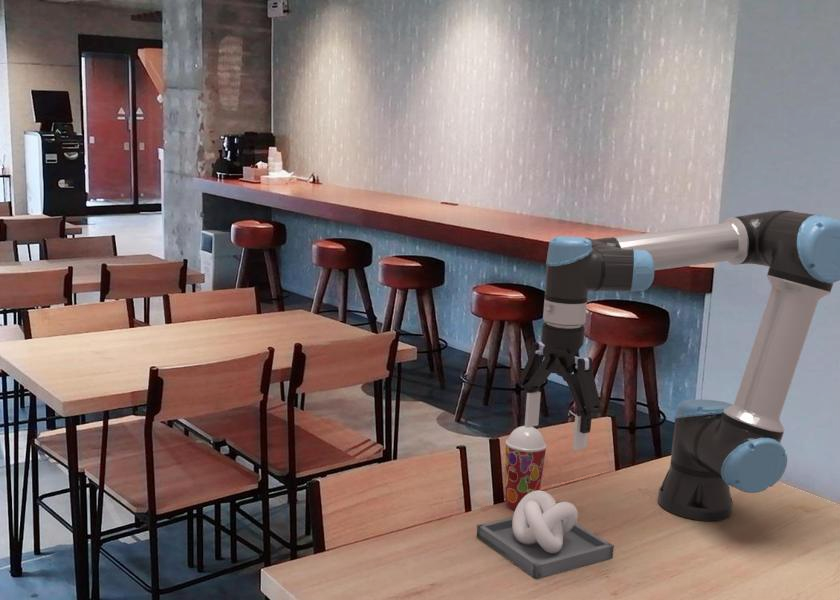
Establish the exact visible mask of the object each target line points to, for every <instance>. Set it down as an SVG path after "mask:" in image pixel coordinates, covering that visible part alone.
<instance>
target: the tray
mask: <svg viewBox="0 0 840 600" xmlns="http://www.w3.org/2000/svg"><path fill="white" fill-rule="evenodd" d="M541 511H542V513H543V510H542V509H541ZM512 520H513V516H512V517H511V516H510V517H507V518H503V519H498V520H495V521H494V520H493V521H489V522H485V523H480V524H477V526H476V538H477V540H479V541H481V543H484V544H486V546H488V547H489V548H491V549H492V548H493V550H494V551H495V550H496V551H495V552H496V553H498V554H499V553H500V555H501V556H502V555H503V556H502V557H504V558H505V559H506V560H508V561H509V560H510V561H509V562H511V563H512V562H513V563H512V564H514V565H515V564H516V565H517V566H516V565H515V566H516V567H518V568H519V567H520V569H521V570H522V571H524V572H525V573H526V574H528V575H529V576H531V577H532V578H534V579H535V580H539V579H542V578H546V577H549V576H553V575H556V574H560V573H564V572H567V571H571V570H574V569H577V568H582V567H586V566H591V565H592V564H597V563H600V562H604V561H608V560H610V559H613V556H614V550H615V549H614V548H615V545H614V544H612V543H611V542H609V541H607V540H605V539H604V538H601V537H600V536H599V535H597V534H595V533H594V532H591V531H590V530H588V529H587V528H585V527H583V526H581V525H579V524H578V523H577V522H576V523H575V525H574V526H573V527H572V529H571V530H570V531H568V532H567V533H566V534H564V535H563V545H562V548H561V549H560V550H559V551H558V552H557V553H553V554H551V553H549V552H546V551H545V550H544V549H543V548H542V547H541V546H540V544H539V543H538V542H536V543H534V544H530V545H526V544H523V543H521V542H519V541H518V540H517V539H516V537H515V535H514V533H513V529H512ZM528 528H529V525H528Z"/></svg>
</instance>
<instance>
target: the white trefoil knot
mask: <svg viewBox="0 0 840 600" xmlns="http://www.w3.org/2000/svg"><path fill="white" fill-rule="evenodd" d="M541 510H543V513H542V511H541ZM578 514H579V513H578V509H577V508H576V506H575V505H574V504H573V503H571V502H570V501H569V502H568V501H561V502H558V503H557V502H556V500H555V499H554V497H553V496H552V495H551V494H550V493H549V492H547V491H544V490H541V489H540V490H537V491H533V492H530V493H528V494H527V495H525V496H524V497H523V498H522V500H521V501H520V502H519V504H518V505H517V507H516V509H515V510H514V513H513V515H512V517H513V520H512V529H513V533H514V535H515V537H516V539H517V540H518V541H519V542H521V543H523V544H526V545H530V544H534V543H536V542H538V543H539V544H540V546H541V547H542V548H543V549H544V550H545V551H546V552H549V553H551V554H553V553H557V552H558V551H559V550H560V549H561V548H562V545H563V535H564V534H566V533H567V532H568V531H570V530H571V529H572V527H573V526H574V525H575V523H576V524H577V521H578V518H579V515H578ZM528 525H529V528H528Z"/></svg>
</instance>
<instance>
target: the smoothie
mask: <svg viewBox="0 0 840 600" xmlns="http://www.w3.org/2000/svg"><path fill="white" fill-rule="evenodd" d="M547 445H548V444H547V443H546V442H545V439H544V436H543V434H542V433H541V432H540V431H539V430H538V429H537V428H536V427H535V426H531V427H526V426H525V425H522V426H521V425H520V426H518V427H516V428H514V429H513V430H512V432H511V433H510V434H509V436H508V438H506V440H505V476H504V477H505V484H504V485H505V487H504V489H505V491H504V493H505V494H504V495H505V496H504V498H505V501H506V502H507V506H508V507H509V508H511V510H514V509H516V507H517V505H518V504H519V502H520V501H521V500H522V498H523V497H524V496H525V495H527V494H528V493H530V492H533V491H537V490H540V491H541V485H542V484H541V483H542V478H543V471H544V465H545V458H546V450H547Z"/></svg>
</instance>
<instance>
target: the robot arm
mask: <svg viewBox="0 0 840 600" xmlns="http://www.w3.org/2000/svg"><path fill="white" fill-rule="evenodd" d="M545 261H546V262H545V265H546V271H545V287H544V289H545V290H544V302H543V314H542V320H543V321H544V322H543V324H542V325H541V326H542V327H541V339H540V340H541V341H536V342H535V341H534V342H533V343H532V346H531V351H530V354H529V357H528V358H527V361H526V364H525V365H524V368H523V370H522V372H521V374H520V377H519V379H518V381H517V382H518V385H519V386H520V387H523V389H524V392H525V395H524V396H525V397H524V407H525V413H524V414H525V416H524V426H526V427H536V426H539V424H540V423H539V421H540V420H539V419H540V408H541V394H542V392H541V391H540V390H541V386H542V384H544V382H545V381H546V380H547V379H548V378H549V376H550V375H551V374H556V375H557V376H558V377H561V378H562V380H563V381H564V382H566V385H567V386H568V389H569V391H570V395H571V396H572V398H573V401H574V404H575V406H576V409H577V411H578V412H577V413H575V415H574V428H573V436H572V437H573V438H572V450H573V451H580V450H585V449H588V440H589V434H590V432H591V428H592V419H593V418H592V417H593V415H598V414H602V410H603V409H602V407H601V402H600V397H599V393H598V389H597V385H596V380H595V376H594V371H593V358H592V357H589V356H588V357H581V356H580V349H581V348H582V347H583V346H584V344H585V343H584V341H585V330H586V328H585V327H584V324H586V321H587V320H586V319H587V317H586V316H587V306H588V305H587V303H588V295H589V294H588V293H589V292H629V293H632V292H642V291H646V290H648V289H649V288H650V286H651V285H652V284H653V282H654V278H655V271H660V270H667V269H675V268H681V267H682V268H683V267H689V266H691V267H692V266H698V265H705V264H707V265H708V264H714V263H721V262H726V261H727V262H728V263H729V264H731V265H734V266H737V265H744V264H745V265H756V266H757V265H759V266H765V267H769V268H768V271H767V274H766V277H767V279H768V281H769V283H770V285H771V289H770V291H769V296H768V298H767V301H766V305H765V308H764V311H763V313H762V317H761V320H760V324H759V326H758V329H757V333H756V335H755V338H754V342H753V344H752V348H751V350H750V354H749V356H748V359H747V363H746V365H745V370H744V372H743V375H742V378H741V381H740V384H739V388H738V391H737V393H736V397H735V400H734V401H733V402H734V403H733V404H732V403H730V402H726V401H721V400H712V399H701V398H700V399H687V400H683V401H681V402H679V403H678V405H677V407H676V410H675V414H674V424H673V425H674V426H673V427H674V428H673V437H672V445H671V446H672V447H671V453H670V454H671V456H670V465H669V469H668V470H667V472H666V474H665V477H664V479H663V481H662V483H661V486H660V487H659V490H658V496H657V502H658V504H659V505H660V507H661V508H662V509H664V510H666V511H667V512H669V513H670V514H674V515H675V516H679V517H681V518H686V519H689V520H695V521H705V522H706V521H708V522H714V521H715V522H716V521H721V520H725V519H728V518H729V517H730V516H732V513H733V506H734V504H733V502H734V501H733V499H732V496H731V489H730V487H732V488H735V489H737V490H739V491H741V492H743V493H748V494H758V493H760V492H762V493H763V492H764V491H766V490H767V489H768V488H770V487H771V488H772V487H773V486H775V485H776V484H777V482H779V481H780V480H781V478H782V477H783V475H784V473H785V472H786V469H787V466H788V454H787V453H786V449H785V447H784V446H783V444H782V443H781V442H782V438H783V436H784V432H785V427H784V425H783V424H782V423H781V421H780V416H781V414H782V412H783V408H784V405H785V403H786V402H785V401H786V399H787V396H788V393H789V389H790V387H791V384H792V381H793V378H794V375H795V372H796V369H797V366H798V363H799V360H800V357H801V354H802V350H803V348H804V344H805V342H806V339H807V336H808V333H809V330H810V327H811V324H812V320H813V318H814V315H815V312H816V309H817V306H818V303H819V301H820V300H821V299H822V298H824V297H826V296H828V295H830V294H831V292H832V288H833V286H834V283H836V282H839V281H840V219H839V220H838V219H836V218H831V217H829V216H827V215H823V214H822V215H820V214H813V213H804V212H798V211H792V210H783V209H782V210H781V209H779V210H770V211H763V212H758V213H752V214H751V213H750V214H745V215H739V216H731V217H727V218H726V219H725V220H724V221H723V223H715V224H708V225H701V226H700V225H699V226H693V227H690V226H689V227H684V228H674V229H667V230H660V231H653V232H642V233H635V234H628V235H627V234H626V235H618V236H612V237H602V238H594V239H593V238H591V237H581V236H569V235H567V236H566V235H561V236H559V235H558V236H554V237H553V238H551V239H550V241H549V243H548V249H547V256H546V260H545Z"/></svg>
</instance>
